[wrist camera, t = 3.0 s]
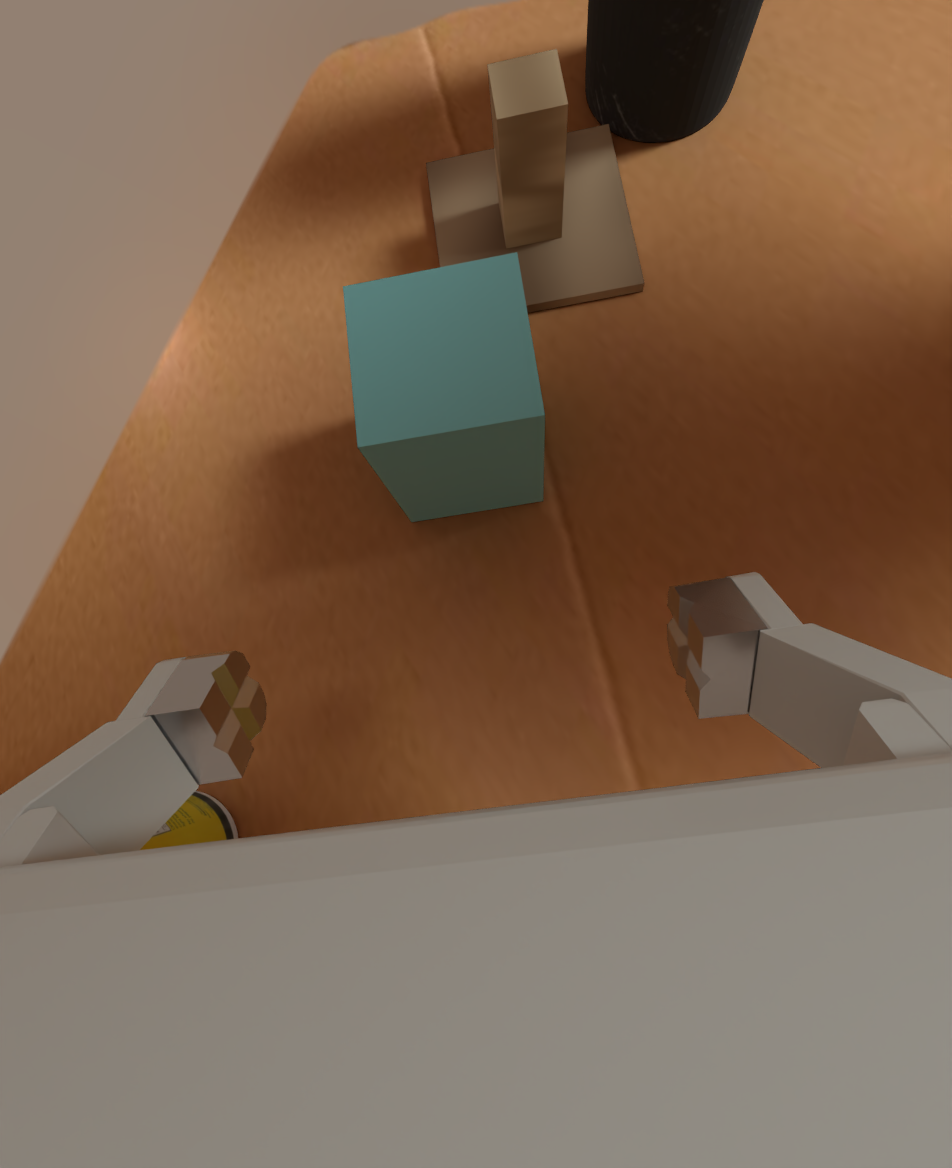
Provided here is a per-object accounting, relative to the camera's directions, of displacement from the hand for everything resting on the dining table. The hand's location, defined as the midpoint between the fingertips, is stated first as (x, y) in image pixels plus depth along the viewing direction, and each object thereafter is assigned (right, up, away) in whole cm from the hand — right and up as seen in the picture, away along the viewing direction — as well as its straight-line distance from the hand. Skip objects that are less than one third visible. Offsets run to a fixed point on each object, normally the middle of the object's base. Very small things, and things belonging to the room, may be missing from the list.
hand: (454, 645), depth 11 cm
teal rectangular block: (0, +7, +14) cm, 16 cm away
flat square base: (+3, +18, +16) cm, 25 cm away
